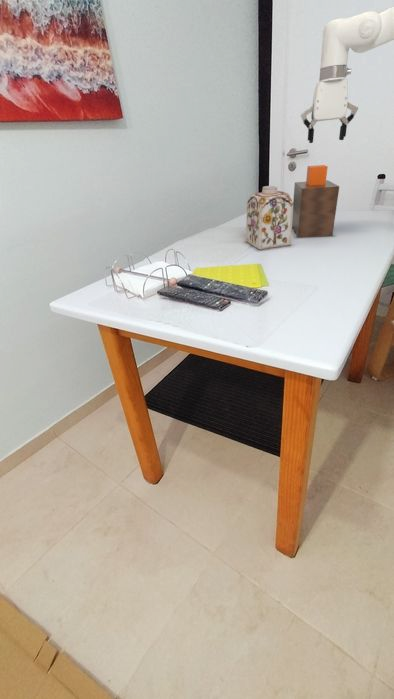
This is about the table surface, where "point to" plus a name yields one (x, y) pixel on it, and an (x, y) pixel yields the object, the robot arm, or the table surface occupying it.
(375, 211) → the table surface
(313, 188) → the wooden grain block
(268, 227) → the decorative jar
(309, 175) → the cube
